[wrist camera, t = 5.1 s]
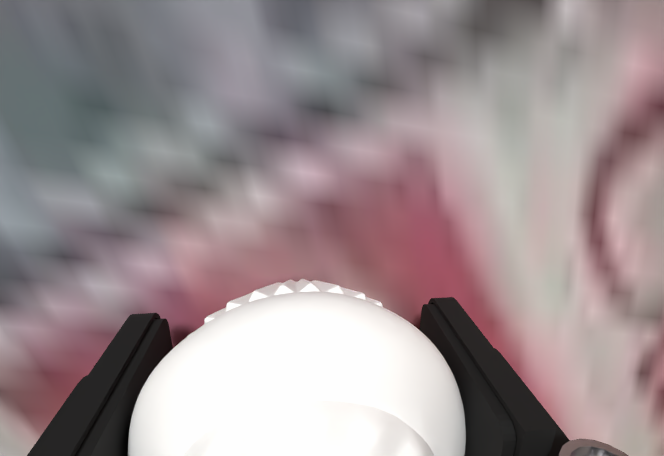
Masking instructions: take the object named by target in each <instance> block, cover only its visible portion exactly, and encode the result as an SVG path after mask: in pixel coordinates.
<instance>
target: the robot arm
mask: <svg viewBox="0 0 664 456" xmlns="http://www.w3.org/2000/svg"><path fill="white" fill-rule="evenodd" d="M420 331H421V332H422V333H423V334H424V335H425V336H426V337H427V338H428V339H429V340H430V341H431V342H432V343H433V344H434V345H435V346H436V348H437V349H438V350H439V352H440V353H441V354H442V356H443V357H444V359H445V361H446V362H447V364H448V366H449V367H450V369H451V371H452V373H453V375H454V378H455V380H456V383H457V385H458V389H459V392H460V396H461V399H462V403H463V408H464V415H465V427H466V445H465V455H464V456H628V455H627V454H625V453H624V452H622V451H620V450H618V449H616V448H614V447H612V446H610V445H608V444H605V443H602V442H599V441H595V440H589V439H576V440H569V439H568V438H567V437H566V435H565V434H564V433H563V431H562V430H561V429H560V428H559V426H558V425H557V424H556V423H555V421H554V420H553V419H552V418H551V416H550V415H549V414H548V413H547V411H546V410H545V409H544V408H543V406H542V405H541V404H540V403H539V401H538V400H537V399H536V397H535V396H534V395H533V394H532V392H531V391H530V390H529V389H528V387H527V386H526V385H525V384H524V382H523V381H522V380H521V379H520V377H519V376H518V375H517V374H516V372H515V371H514V370H513V369H512V367H511V366H510V365H509V363H508V362H507V361H506V360H505V358H504V357H503V356H502V355H501V353H500V352H499V351H498V350H496V349H495V348H493V346H492V345H491V344H490V343H489V341H488V340H487V339H486V338H485V336H484V335H483V334H482V332H481V331H480V330H479V329H478V327H477V326H476V325H475V324H474V322H473V321H472V320H471V318H470V317H469V316H468V315H467V313H466V312H465V311H464V309H463V308H462V307H461V306H460V304H459V303H458V302H457V301H456V299H454V298H452V297H449V298H431V299H430V301H429V303H428V304H424V305H423V307H422V312H421V322H420ZM172 349H173V347H172V342H171V336H170V330H169V324H168V321H167V319H160V316H159V314H157V313H148V314H132V315H130V316H129V317H128V319H127V320H126V321H125V323H124V324H123V326H122V327H121V329H120V330H119V332H118V333H117V334H116V336H115V337H114V339H113V340H112V342H111V343H110V345H109V346H108V347H107V349H106V350H105V352H104V353H103V355H102V356H101V358H100V359H99V360H98V362H97V363H96V365H95V366H94V368H93V369H92V371H91V372H90V373H89V375H87V376H85V377H83V379H82V380H81V381H80V382H79V383H78V384H77V386H76V387H75V389H74V390H73V391H72V393H71V394H70V396H69V397H68V398H67V400H66V401H65V403H64V404H63V406H62V407H61V408H60V410H59V411H58V413H57V414H56V415H55V417H54V418H53V420H52V421H51V422H50V424H49V425H48V427H47V428H46V430H45V431H44V432H43V434H42V435H41V437H40V438H39V439H38V441H37V442H36V444H35V445H34V447H33V448H32V449H31V451H30V452H29V454H28V455H27V456H128V437H129V428H130V423H131V418H132V414H133V410H134V407H135V404H136V401H137V398H138V396H139V394H140V392H141V389H142V387H143V386H144V384H145V382H146V381H147V379H148V377H149V376H150V374H151V373H152V371H153V370H154V369H155V367H156V366H157V365H158V364H159V363H160V361H161V360H162V359H163V358H164V357H165V356H166V355H167V354H168V353H169V352H170V351H171V350H172Z"/></svg>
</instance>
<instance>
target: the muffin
mask: <svg viewBox="0 0 664 456" xmlns="http://www.w3.org/2000/svg"><path fill="white" fill-rule="evenodd" d="M204 320H205V324H204V325H203V326H201V327H200V328H199V329H197V330H196V331H194V332H193V333H191V334H189V335H188V336H187V337H186V338H185V339H184V340H182V341H181V342H180V343H179V344H178V345H176V346H175V347H174V348H173V349H172V350H171V351H170V352H169V353H168V354H167V355H166V356H165V357H164V358H163V359H162V360H161V361H160V363H159V364H158V365H157V366H156V367H155V369H154V370H153V371H152V373H151V374H150V376H149V377H148V379H147V381H146V382H145V384H144V386H143V387H142V389H141V392H140V394H139V396H138V398H137V401H136V404H135V407H134V410H133V414H132V418H131V423H130V428H129V437H128V456H464V455H465V445H466V427H465V415H464V408H463V403H462V399H461V396H460V392H459V389H458V385H457V383H456V380H455V378H454V375H453V373H452V371H451V369H450V367H449V366H448V364H447V362H446V361H445V359H444V357H443V356H442V354H441V353H440V352H439V350H438V349H437V348H436V346H435V345H434V344H433V343H432V342H431V341H430V340H429V339H428V338H427V337H426V336H425V335H424V334H423V333H422V332H421V331H420V330H419V329H417V328H416V327H415V326H414V325H412V324H411V323H410V322H408V321H406V320H405V319H403V318H402V317H400V316H398V315H397V314H395V313H393V312H391V311H389V310H388V309H386V308H383V305H382V303H381V302H380V301H377V300H374V299H371V298H368V297H366V296H365V294H364V293H361V292H358V291H354V290H350V289H347V288H342V287H340V286H339V285H335V284H331V283H326V282H321V281H317V280H314V281H311V282H310V281H308V280H305V279H301V280H299V281H297V282H295V281H293V280H288V281H286V282H284V283H280V282H278V283H275V284H272V285H268V286H266V287H263V288H261V289H257V290H255V291H253V293H250V294H247V295H245V296H242V297H240V298H237V299H234V300H232V301H229V302H228V303H227V306H226V308H224V309H222V310H219V311H217V312H215V313H213V314H211V315H209V316H207V317H206V318H205V319H204Z"/></svg>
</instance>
